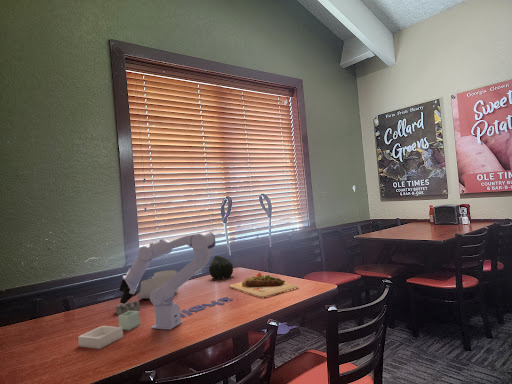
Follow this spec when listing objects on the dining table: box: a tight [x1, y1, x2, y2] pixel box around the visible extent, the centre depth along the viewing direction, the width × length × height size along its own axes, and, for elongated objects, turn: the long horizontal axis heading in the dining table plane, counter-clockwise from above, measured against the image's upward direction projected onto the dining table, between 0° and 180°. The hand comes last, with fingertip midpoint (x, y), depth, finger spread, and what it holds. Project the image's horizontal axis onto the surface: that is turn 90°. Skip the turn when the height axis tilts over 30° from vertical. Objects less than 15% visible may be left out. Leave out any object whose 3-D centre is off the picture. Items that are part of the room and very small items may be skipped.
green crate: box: [117, 310, 141, 331], centre depth 137 cm, size 5×6×6 cm
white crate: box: [77, 325, 124, 350], centre depth 124 cm, size 11×11×4 cm
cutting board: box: [229, 272, 299, 298], centre depth 179 cm, size 35×23×8 cm
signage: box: [180, 296, 234, 318], centre depth 155 cm, size 28×1×10 cm
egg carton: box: [115, 300, 140, 315], centre depth 161 cm, size 11×8×4 cm
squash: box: [208, 255, 234, 280], centre depth 214 cm, size 14×15×15 cm
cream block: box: [136, 269, 178, 300], centre depth 185 cm, size 20×19×12 cm
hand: (122, 296), depth 140 cm, fingers open, 7 cm apart
